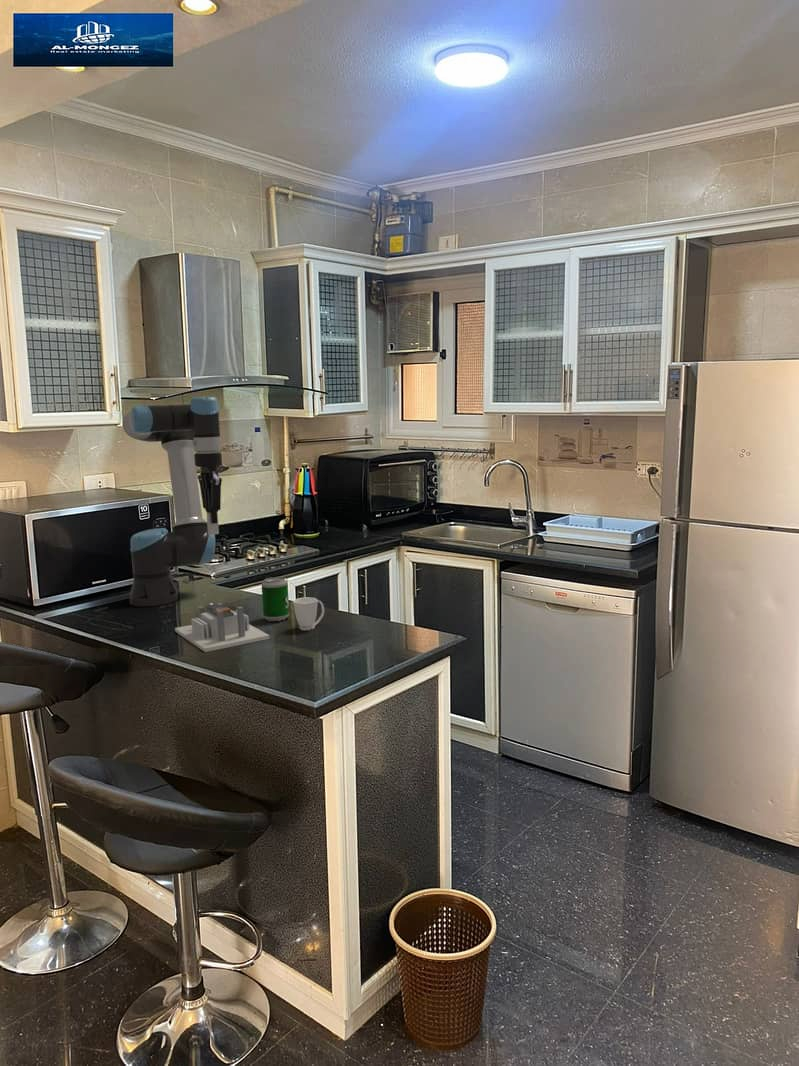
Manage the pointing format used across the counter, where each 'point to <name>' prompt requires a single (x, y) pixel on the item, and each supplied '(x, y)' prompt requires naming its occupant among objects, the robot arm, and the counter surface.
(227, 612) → the lever
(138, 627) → the counter surface
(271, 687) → the counter surface
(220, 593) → the counter surface
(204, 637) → the heatsink base
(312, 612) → the cup
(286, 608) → the soda can
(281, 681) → the counter surface
